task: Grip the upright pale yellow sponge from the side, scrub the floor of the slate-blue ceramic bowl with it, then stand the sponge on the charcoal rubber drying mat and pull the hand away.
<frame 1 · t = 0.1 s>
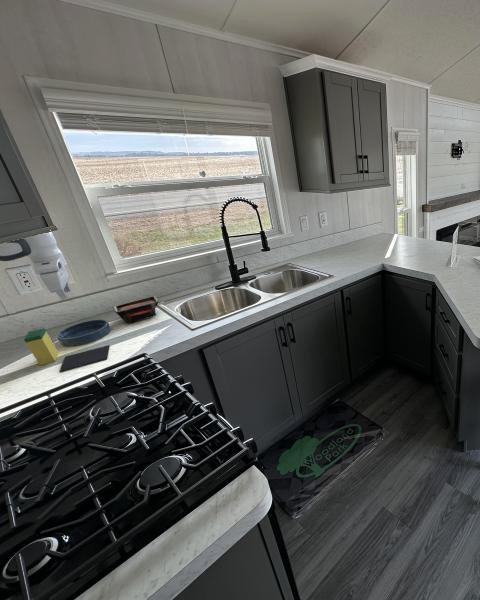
hand: (66, 295, 132), 23 cm above the countertop, tool pointing down, fingers open, 8 cm apart
bowl: (87, 336, 147), on the countertop
sponge: (49, 359, 132), on the countertop
drying mat: (86, 358, 131), on the countertop
baking dish: (141, 316, 164), on the countertop
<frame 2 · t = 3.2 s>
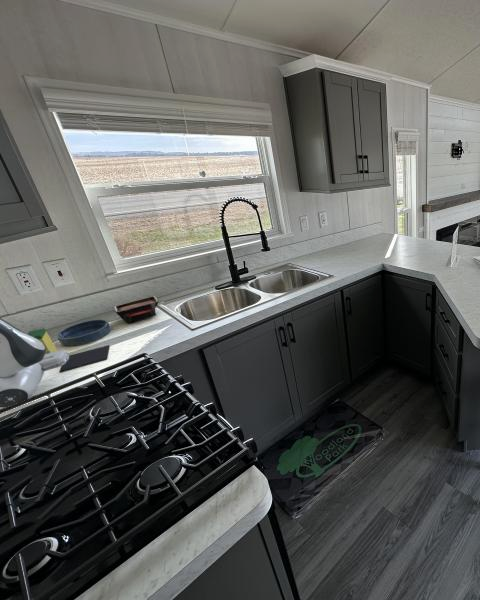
hand: (33, 357, 120), 7 cm above the countertop, tool horizontal, fingers open, 8 cm apart
nothing on the countertop moved.
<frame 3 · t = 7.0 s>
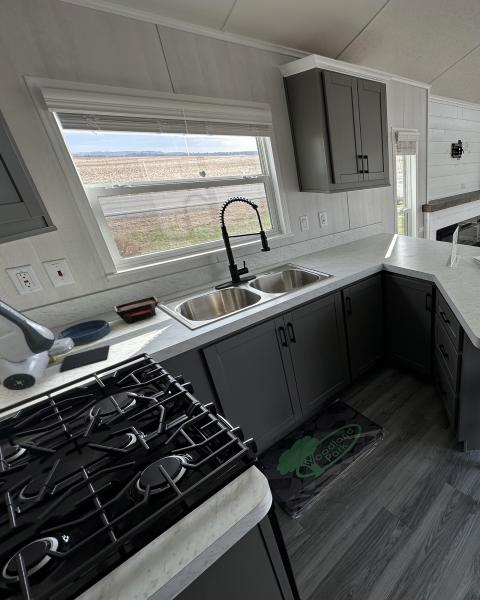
hand: (41, 343, 129), 7 cm above the countertop, tool horizontal, fingers closed on sponge, 4 cm apart
sponge: (49, 359, 132), on the countertop, touching gripper
everything else where it was.
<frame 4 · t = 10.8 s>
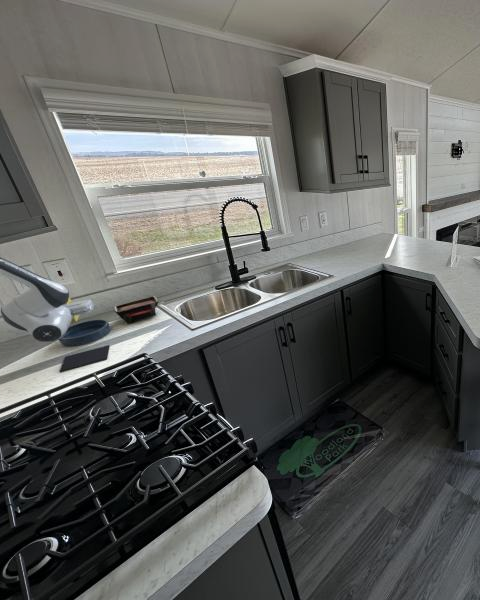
hand: (63, 305, 138), 17 cm above the countertop, tool horizontal, fingers closed on sponge, 4 cm apart
sponge: (70, 320, 140), point 10 cm above the countertop, touching gripper
everything else where it was.
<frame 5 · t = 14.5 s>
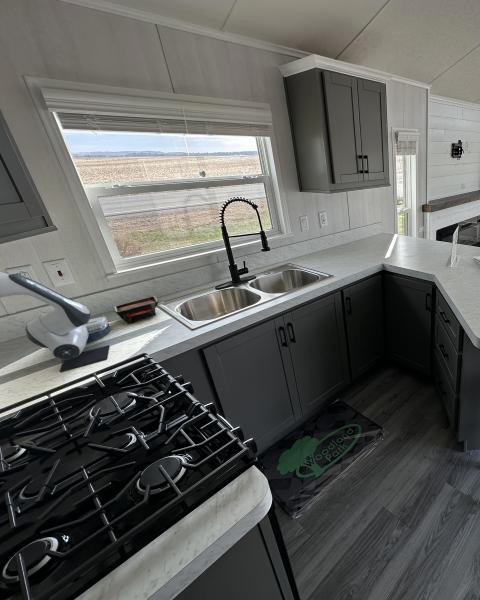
hand: (79, 321, 144), 8 cm above the countertop, tool horizontal, fingers closed on sponge, 4 cm apart
sponge: (85, 336, 146), point 1 cm above the countertop, touching gripper
everything else where it was.
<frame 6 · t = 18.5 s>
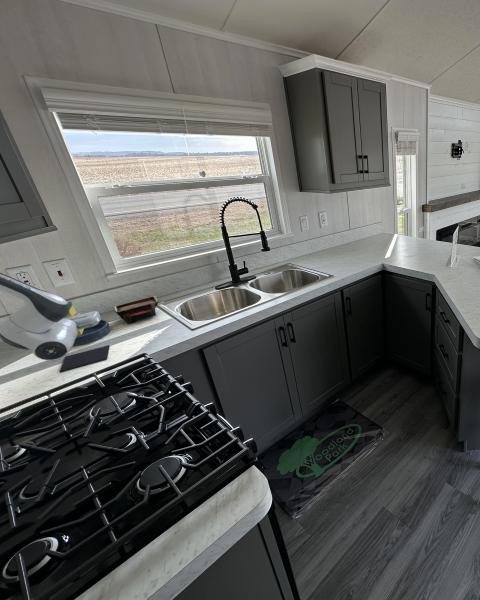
hand: (68, 317, 127), 17 cm above the countertop, tool horizontal, fingers closed on sponge, 4 cm apart
sponge: (75, 333, 129), point 10 cm above the countertop, touching gripper
everything else where it was.
when the fingers open (7 cm above the countertop, at t = 22.0 s): sponge stays where it is, resting on drying mat.
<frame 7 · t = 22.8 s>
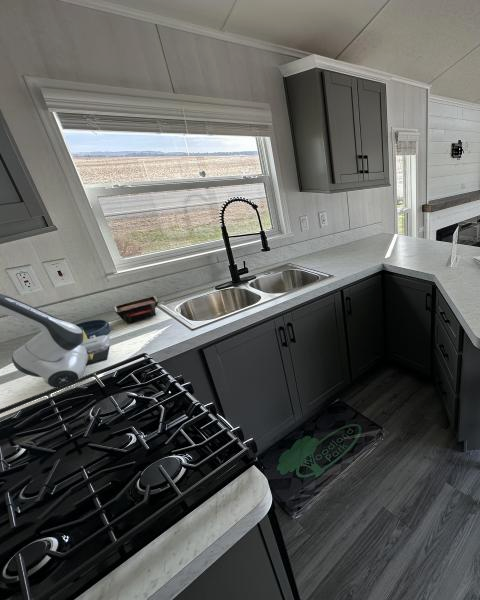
hand: (77, 341, 129), 8 cm above the countertop, tool horizontal, fingers open, 8 cm apart
sponge: (85, 357, 131), point 1 cm above the countertop, touching drying mat
everything else where it was.
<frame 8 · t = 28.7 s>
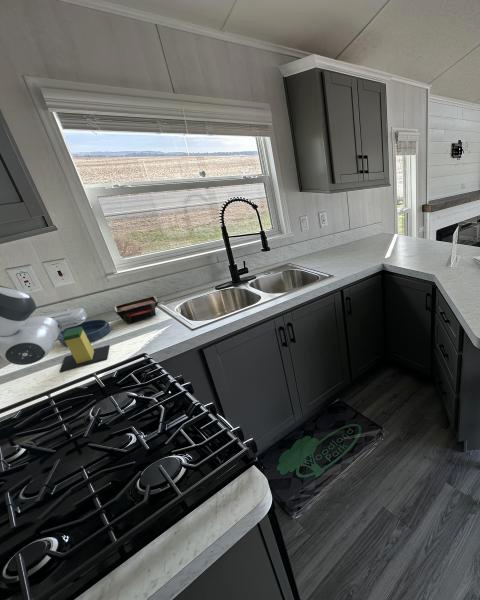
hand: (49, 314, 112), 25 cm above the countertop, tool horizontal, fingers open, 8 cm apart
nothing on the countertop moved.
at the end: sponge inside the target area on the drying mat (0.3 cm from its centre), point 0.6 cm above the drying mat's base; sponge tilted 0°; the gripper is holding nothing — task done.
